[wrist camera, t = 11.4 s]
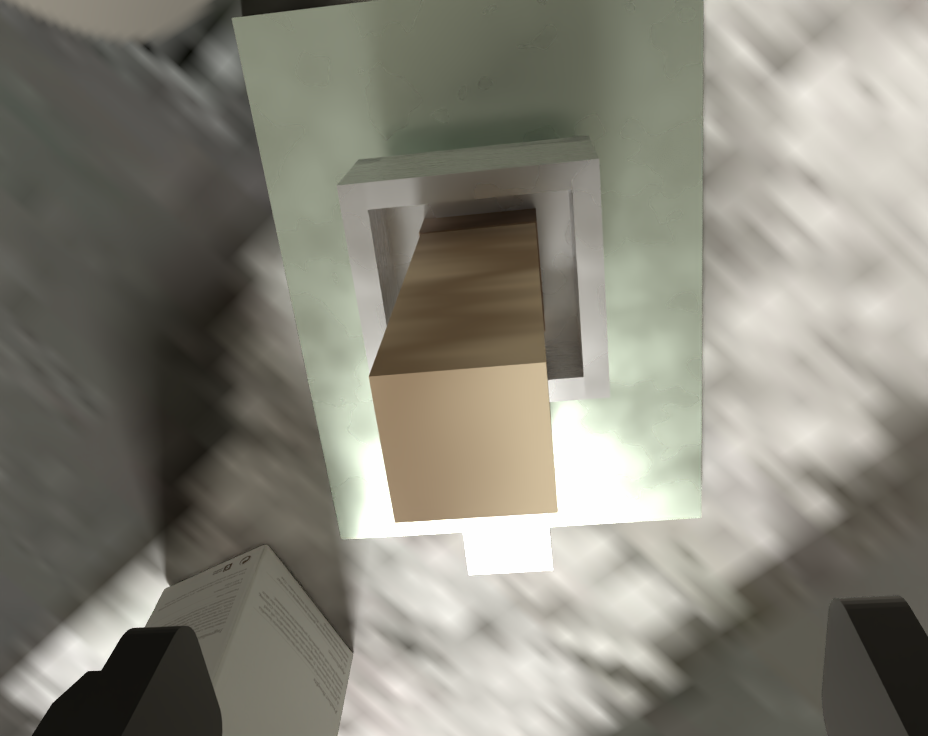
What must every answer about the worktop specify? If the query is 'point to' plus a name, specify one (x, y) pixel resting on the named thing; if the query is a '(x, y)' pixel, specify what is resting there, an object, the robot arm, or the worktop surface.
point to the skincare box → (262, 647)
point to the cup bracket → (495, 190)
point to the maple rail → (467, 375)
